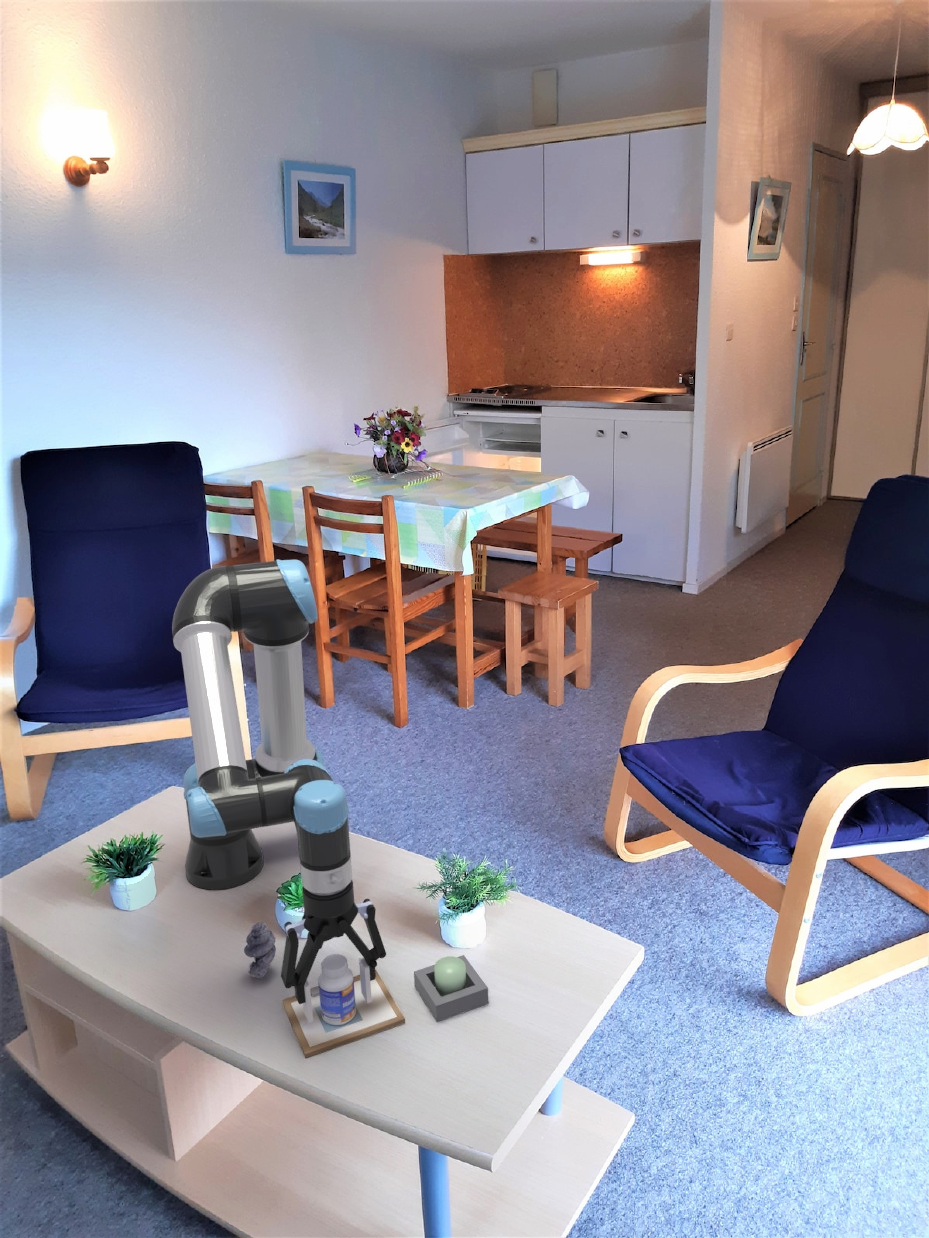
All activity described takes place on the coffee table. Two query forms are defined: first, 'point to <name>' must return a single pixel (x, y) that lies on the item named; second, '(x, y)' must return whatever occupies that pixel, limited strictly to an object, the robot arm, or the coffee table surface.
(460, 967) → the button
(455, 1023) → the coffee table surface
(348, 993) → the pill bottle
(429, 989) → the button housing
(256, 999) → the coffee table surface
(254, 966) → the seashell
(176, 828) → the coffee table surface
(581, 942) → the coffee table surface
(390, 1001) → the clipboard
